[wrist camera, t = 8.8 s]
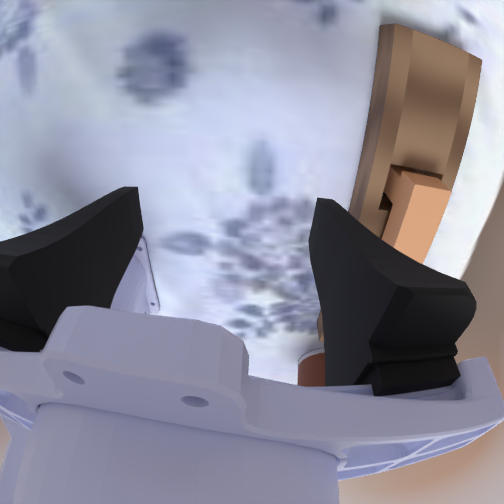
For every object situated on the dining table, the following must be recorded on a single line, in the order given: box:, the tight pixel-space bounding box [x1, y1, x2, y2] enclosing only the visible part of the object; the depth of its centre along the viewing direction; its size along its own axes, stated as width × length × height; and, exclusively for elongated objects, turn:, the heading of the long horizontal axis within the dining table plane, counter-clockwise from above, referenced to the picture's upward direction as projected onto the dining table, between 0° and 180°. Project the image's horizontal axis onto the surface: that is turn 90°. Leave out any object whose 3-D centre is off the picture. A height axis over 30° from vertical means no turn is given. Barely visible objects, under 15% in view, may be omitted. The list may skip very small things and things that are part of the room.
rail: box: [317, 24, 482, 342], centre depth 21 cm, size 28×7×2 cm, turn 177°
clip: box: [382, 164, 452, 264], centre depth 20 cm, size 9×3×5 cm, turn 177°
